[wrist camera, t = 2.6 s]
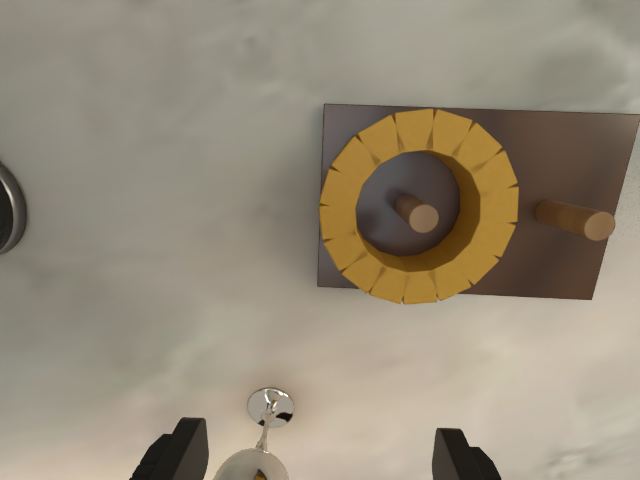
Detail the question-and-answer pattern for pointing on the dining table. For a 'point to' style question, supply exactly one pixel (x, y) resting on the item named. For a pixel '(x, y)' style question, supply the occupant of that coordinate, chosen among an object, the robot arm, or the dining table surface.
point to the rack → (533, 181)
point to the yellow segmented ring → (470, 227)
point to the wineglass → (257, 463)
